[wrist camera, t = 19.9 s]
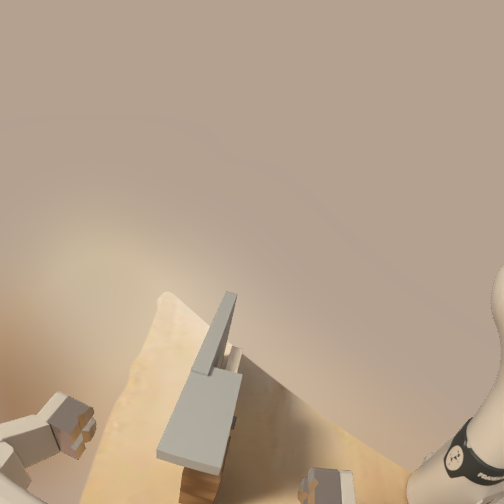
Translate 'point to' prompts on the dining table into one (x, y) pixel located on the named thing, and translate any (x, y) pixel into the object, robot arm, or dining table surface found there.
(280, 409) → the dining table surface
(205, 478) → the walnut block
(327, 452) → the dining table surface
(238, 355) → the door panel
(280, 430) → the dining table surface
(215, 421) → the wall
